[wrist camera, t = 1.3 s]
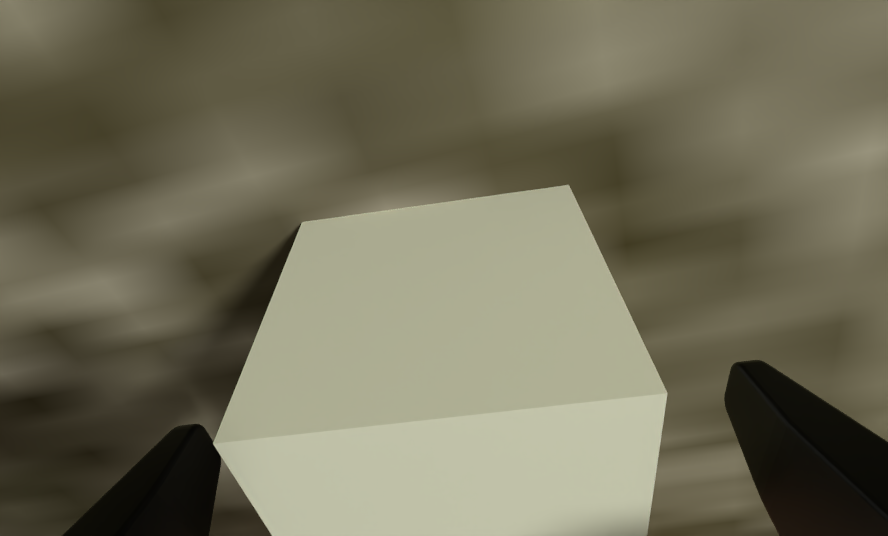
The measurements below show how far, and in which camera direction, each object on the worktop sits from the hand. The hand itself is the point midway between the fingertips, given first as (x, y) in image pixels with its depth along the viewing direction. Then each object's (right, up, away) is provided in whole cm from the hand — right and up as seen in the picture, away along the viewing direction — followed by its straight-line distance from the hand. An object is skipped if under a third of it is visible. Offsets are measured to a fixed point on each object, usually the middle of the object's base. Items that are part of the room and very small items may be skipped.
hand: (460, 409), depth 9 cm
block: (0, +2, +2) cm, 3 cm away
